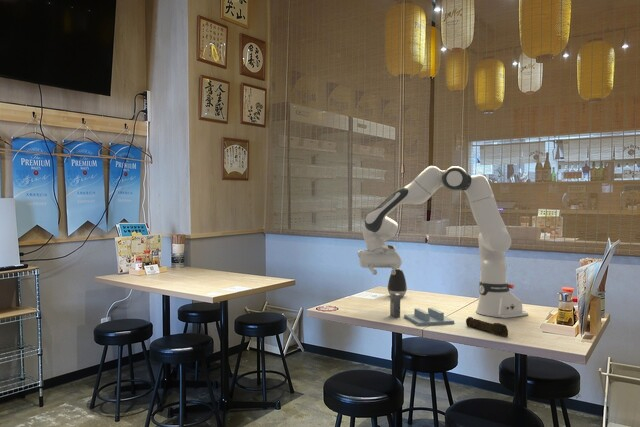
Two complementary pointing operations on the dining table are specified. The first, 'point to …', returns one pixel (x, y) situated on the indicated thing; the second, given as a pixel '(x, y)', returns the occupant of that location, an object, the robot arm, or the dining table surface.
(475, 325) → the dark brown bar
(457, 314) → the dining table surface
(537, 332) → the dining table surface
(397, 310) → the end link
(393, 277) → the black egg shape
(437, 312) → the keeper
